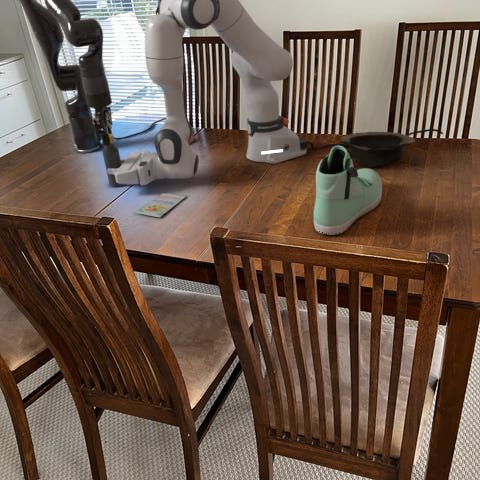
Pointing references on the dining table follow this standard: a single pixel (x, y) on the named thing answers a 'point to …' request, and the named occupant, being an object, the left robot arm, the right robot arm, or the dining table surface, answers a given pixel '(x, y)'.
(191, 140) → the candy cane
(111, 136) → the cap
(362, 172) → the sneaker
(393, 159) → the stone bowl
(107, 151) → the bottle
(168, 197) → the baking ingredient package
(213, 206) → the dining table surface
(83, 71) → the left robot arm
